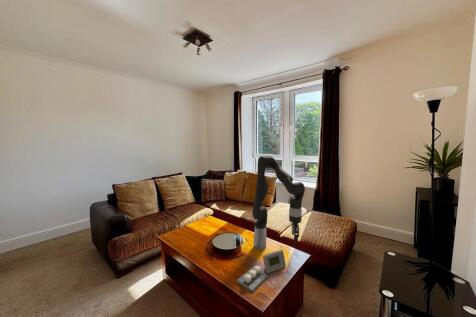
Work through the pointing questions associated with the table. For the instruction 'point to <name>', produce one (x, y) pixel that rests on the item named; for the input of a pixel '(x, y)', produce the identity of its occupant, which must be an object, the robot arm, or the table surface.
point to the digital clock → (274, 261)
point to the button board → (253, 284)
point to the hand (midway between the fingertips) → (294, 238)
